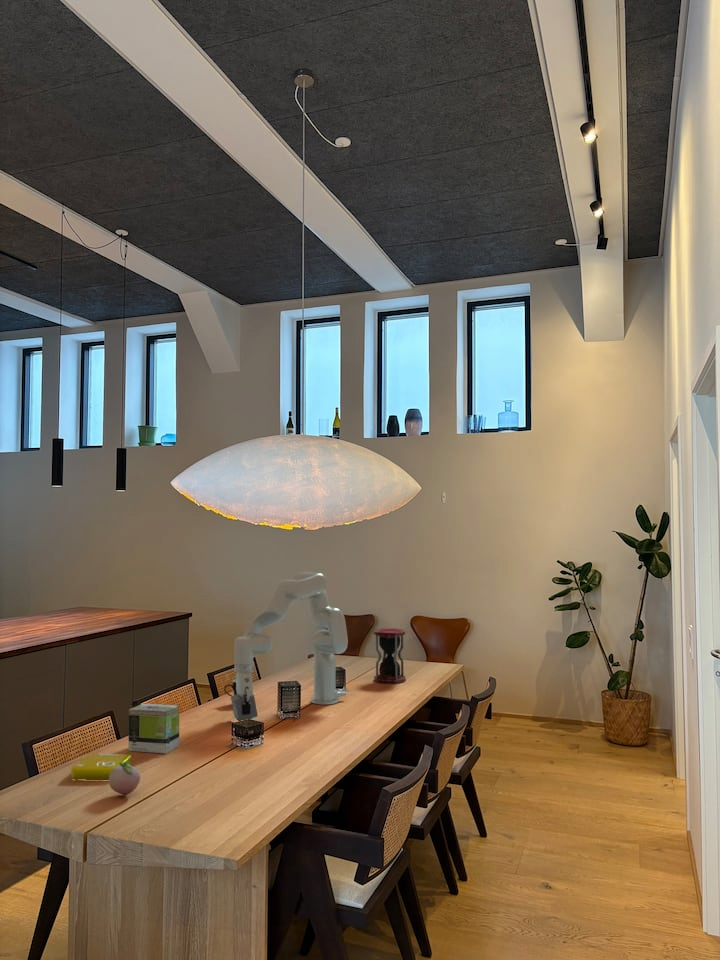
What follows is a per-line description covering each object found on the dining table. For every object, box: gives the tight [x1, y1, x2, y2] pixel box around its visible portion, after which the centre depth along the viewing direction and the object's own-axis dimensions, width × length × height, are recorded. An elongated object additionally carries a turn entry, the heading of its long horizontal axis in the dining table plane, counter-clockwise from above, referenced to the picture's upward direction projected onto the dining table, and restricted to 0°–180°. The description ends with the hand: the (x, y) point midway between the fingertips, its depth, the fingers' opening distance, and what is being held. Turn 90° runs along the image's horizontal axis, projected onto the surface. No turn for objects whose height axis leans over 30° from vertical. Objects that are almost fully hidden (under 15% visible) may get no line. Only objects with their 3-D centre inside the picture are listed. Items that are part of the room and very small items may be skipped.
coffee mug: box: [223, 679, 237, 697], centre depth 332 cm, size 12×9×10 cm
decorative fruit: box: [108, 761, 141, 796], centre depth 221 cm, size 9×8×10 cm
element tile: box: [70, 753, 132, 780], centre depth 241 cm, size 15×15×5 cm
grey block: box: [230, 694, 259, 721], centre depth 304 cm, size 8×8×9 cm
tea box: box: [128, 703, 180, 754], centre depth 267 cm, size 15×10×15 cm
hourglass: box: [373, 628, 407, 685], centre depth 379 cm, size 16×16×25 cm
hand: (243, 711), depth 303 cm, fingers closed on grey block, 7 cm apart
